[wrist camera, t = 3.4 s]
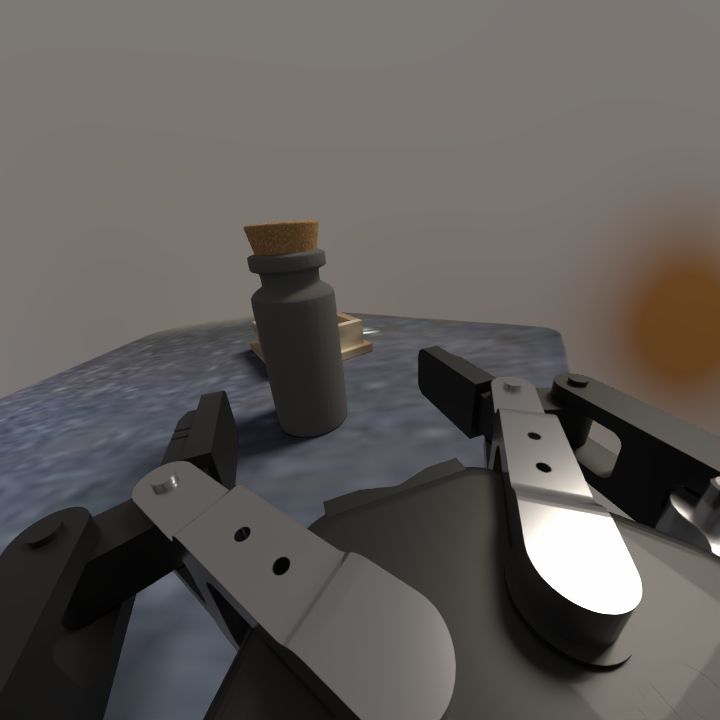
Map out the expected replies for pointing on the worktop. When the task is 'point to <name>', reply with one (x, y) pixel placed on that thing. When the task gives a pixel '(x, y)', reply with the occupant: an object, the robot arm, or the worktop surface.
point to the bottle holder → (348, 334)
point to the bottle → (297, 327)
